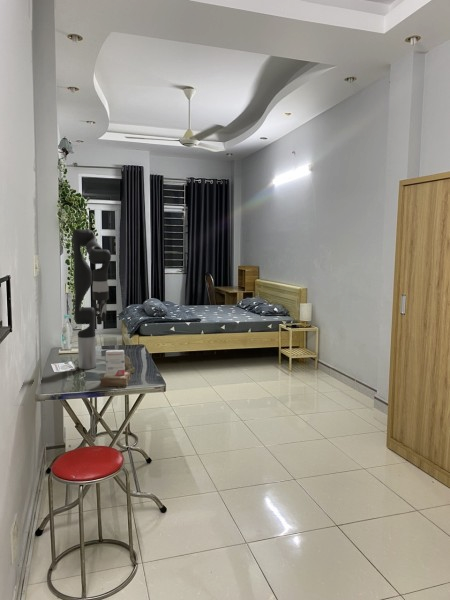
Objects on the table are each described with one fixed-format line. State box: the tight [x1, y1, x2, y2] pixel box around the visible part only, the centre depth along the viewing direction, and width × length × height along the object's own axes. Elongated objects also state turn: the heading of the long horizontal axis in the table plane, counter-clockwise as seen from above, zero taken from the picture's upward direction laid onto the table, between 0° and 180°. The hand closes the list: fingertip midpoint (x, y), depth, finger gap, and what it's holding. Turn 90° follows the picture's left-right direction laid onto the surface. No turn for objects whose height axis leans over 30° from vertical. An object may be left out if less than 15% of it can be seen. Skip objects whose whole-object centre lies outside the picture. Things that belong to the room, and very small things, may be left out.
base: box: [99, 372, 132, 387], centre depth 225 cm, size 12×12×4 cm
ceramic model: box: [124, 354, 136, 374], centre depth 245 cm, size 14×11×10 cm
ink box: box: [105, 349, 125, 376], centre depth 225 cm, size 9×5×12 cm, turn 99°
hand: (101, 322), depth 230 cm, fingers open, 8 cm apart
